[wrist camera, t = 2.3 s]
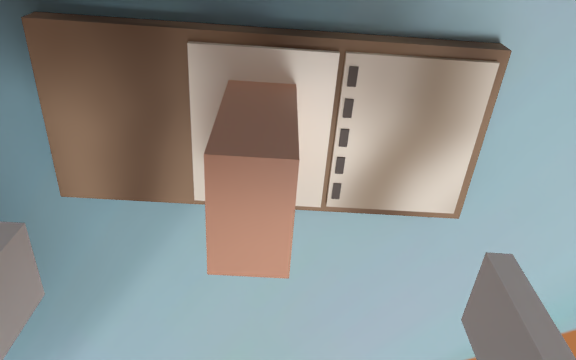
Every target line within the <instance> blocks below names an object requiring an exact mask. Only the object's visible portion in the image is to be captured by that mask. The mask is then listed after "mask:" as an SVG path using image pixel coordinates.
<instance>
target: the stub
mask: <svg viewBox="0 0 576 360" xmlns="http://www.w3.org/2000/svg"><path fill="white" fill-rule="evenodd" d="M187 48H188V70H189V92H190V115H191V137H192V159H193V181H194V200H198V201H205V211H206V243H207V274H211V275H231V276H251V277H270V278H289V271H290V260H291V249H292V238H293V226H294V215H295V206H305V207H321V201H322V193H323V185H324V177H325V169H326V161H327V152H328V144H329V136H330V128H331V120H332V112H333V104H334V96H335V88H336V80H337V72H338V64H339V56H340V52H339V51H326V50H311V49H296V48H281V47H266V46H251V45H236V44H221V43H207V42H192V41H188V43H187Z"/></svg>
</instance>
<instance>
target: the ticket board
mask: <svg viewBox="0 0 576 360" xmlns="http://www.w3.org/2000/svg"><path fill="white" fill-rule="evenodd" d="M21 19H22V23H23V28H24V32H25V37H26V41H27V46H28V50H29V55H30V59H31V64H32V68H33V73H34V77H35V82H36V86H37V91H38V95H39V100H40V104H41V109H42V113H43V118H44V122H45V127H46V131H47V136H48V140H49V145H50V149H51V154H52V158H53V163H54V167H55V172H56V176H57V181H58V185H59V190H60V194H61V197H79V198H97V199H115V200H133V201H151V202H169V203H187V204H205V201H198V200H194V181H193V159H192V137H191V115H190V92H189V70H188V48H187V43H188V41H192V42H207V43H221V44H236V45H251V46H266V47H281V48H296V49H311V50H326V51H339V52H340V56H339V64H338V72H337V80H336V88H335V96H334V104H333V112H332V120H331V128H330V136H329V144H328V152H327V161H326V169H325V177H324V185H323V193H322V201H321V207H305V206H295V210H313V211H331V212H349V213H367V214H385V215H403V216H421V217H439V218H457V219H459V217H460V213H461V210H462V207H463V204H464V201H465V197H466V194H467V191H468V188H469V185H470V182H471V178H472V175H473V172H474V169H475V166H476V162H477V159H478V156H479V153H480V150H481V147H482V143H483V140H484V137H485V134H486V131H487V127H488V124H489V121H490V118H491V115H492V112H493V108H494V105H495V102H496V99H497V96H498V93H499V89H500V86H501V83H502V80H503V77H504V73H505V70H506V67H507V64H508V61H509V58H510V54H511V50H510V49H508V48H507V47H505V46H504V45H502V44H501V43H487V42H472V41H458V40H443V39H428V38H414V37H399V36H384V35H370V34H355V33H340V32H326V31H311V30H296V29H282V28H267V27H252V26H238V25H223V24H208V23H194V22H179V21H164V20H150V19H135V18H120V17H106V16H91V15H77V14H62V13H47V12H33V13H30V14H28V15H26V16H24V17H21Z"/></svg>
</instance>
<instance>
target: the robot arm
mask: <svg viewBox="0 0 576 360" xmlns="http://www.w3.org/2000/svg"><path fill="white" fill-rule="evenodd" d="M44 295H45V293H44V290H43V286H42V283H41V279H40V275H39V272H38V268H37V265H36V261H35V258H34V254H33V250H32V247H31V243H30V240H29V236H28V233H27V229H26V225H25V223H16V222H0V360H3V359H4V357H5V355H6V354H7V352H8V351H9V349H10V348H11V346H12V345H13V343H14V341H15V340H16V338H17V337H18V335H19V334H20V332H21V331H22V329H23V327H24V326H25V324H26V323H27V321H28V320H29V318H30V317H31V315H32V313H33V312H34V310H35V309H36V307H37V306H38V304H39V303H40V301H41V299H42V298H43V296H44ZM461 320H462V323H463V326H464V328H465V331H466V333H467V336H468V338H469V341H470V344H471V346H472V349H473V351H474V354H475V356H476V359H477V360H576V358H575V357H574V355H573V353H572V352H571V350H570V348H569V347H568V345H567V343H566V342H565V340H564V338H563V337H562V335H561V333H560V332H559V330H558V328H557V327H556V325H555V324H554V322H553V320H552V319H551V317H550V315H549V314H548V312H547V310H546V309H545V307H544V305H543V304H542V302H541V300H540V299H539V297H538V296H537V294H536V292H535V291H534V289H533V287H532V286H531V284H530V282H529V281H528V279H527V277H526V276H525V274H524V272H523V271H522V269H521V268H520V266H519V264H518V263H517V261H516V259H515V258H514V256H513V254H502V253H487V252H486V254H485V257H484V259H483V262H482V265H481V267H480V270H479V273H478V275H477V278H476V281H475V284H474V286H473V289H472V292H471V294H470V297H469V300H468V303H467V305H466V308H465V311H464V313H463V316H462V319H461Z"/></svg>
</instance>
